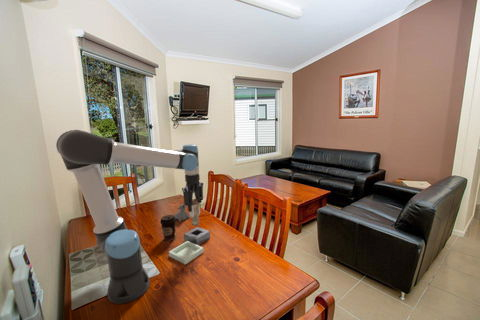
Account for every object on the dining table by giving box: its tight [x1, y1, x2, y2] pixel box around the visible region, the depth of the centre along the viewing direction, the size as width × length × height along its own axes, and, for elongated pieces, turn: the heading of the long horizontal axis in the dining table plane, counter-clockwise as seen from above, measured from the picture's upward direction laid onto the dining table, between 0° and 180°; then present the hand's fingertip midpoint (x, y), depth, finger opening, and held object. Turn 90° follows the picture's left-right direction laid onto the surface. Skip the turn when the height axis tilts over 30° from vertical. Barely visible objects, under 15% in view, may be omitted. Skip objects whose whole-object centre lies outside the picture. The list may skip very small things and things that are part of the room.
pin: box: [190, 198, 200, 227], centre depth 125 cm, size 4×4×14 cm
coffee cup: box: [159, 214, 177, 242], centre depth 129 cm, size 9×8×13 cm
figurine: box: [173, 203, 191, 223], centre depth 156 cm, size 8×10×11 cm
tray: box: [168, 241, 205, 266], centre depth 114 cm, size 12×12×2 cm
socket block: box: [183, 226, 211, 246], centre depth 128 cm, size 10×10×4 cm
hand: (194, 215), depth 126 cm, fingers closed on pin, 4 cm apart
